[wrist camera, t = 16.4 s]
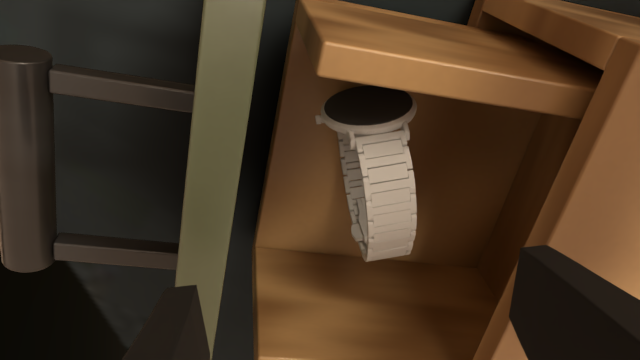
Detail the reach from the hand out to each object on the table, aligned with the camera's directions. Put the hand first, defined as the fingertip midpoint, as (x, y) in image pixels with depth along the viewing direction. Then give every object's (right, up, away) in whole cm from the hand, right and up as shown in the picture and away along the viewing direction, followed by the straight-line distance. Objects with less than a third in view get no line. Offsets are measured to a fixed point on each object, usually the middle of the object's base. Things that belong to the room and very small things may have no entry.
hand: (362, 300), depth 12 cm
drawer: (-1, +4, +8) cm, 9 cm away
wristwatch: (0, +4, +7) cm, 8 cm away
